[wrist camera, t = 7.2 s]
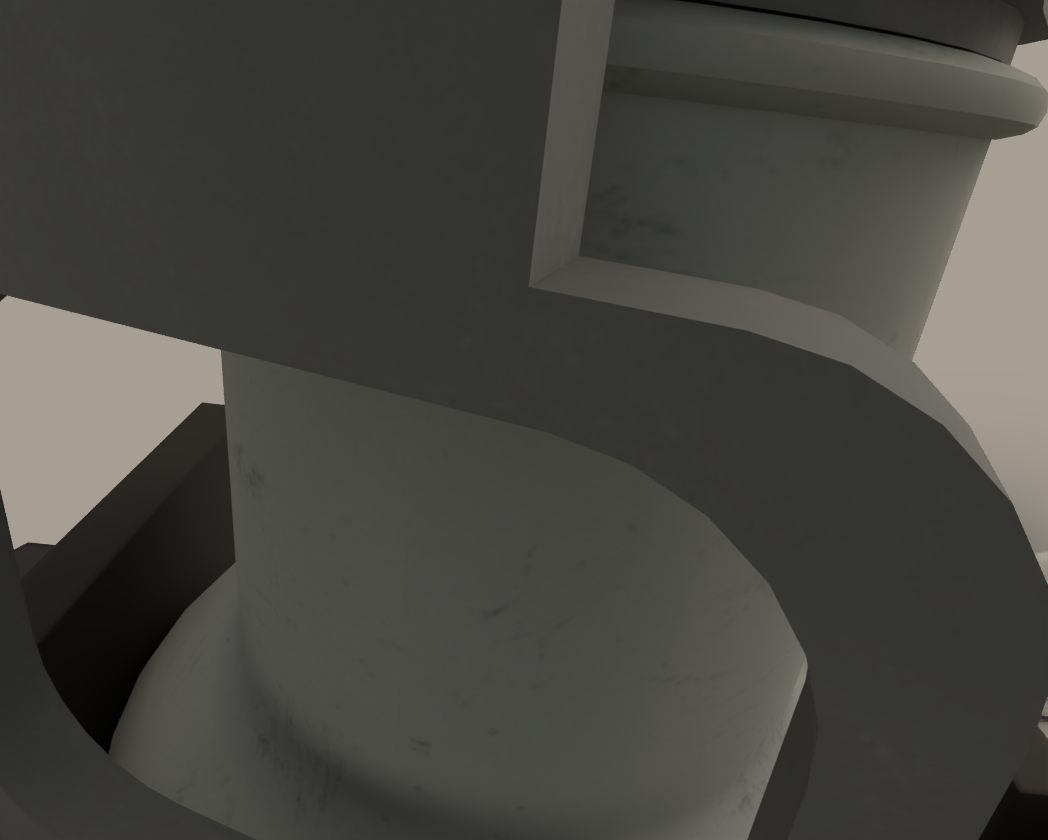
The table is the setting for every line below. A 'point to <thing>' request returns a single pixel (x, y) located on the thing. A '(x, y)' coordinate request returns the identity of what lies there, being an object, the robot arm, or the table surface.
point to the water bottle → (539, 415)
